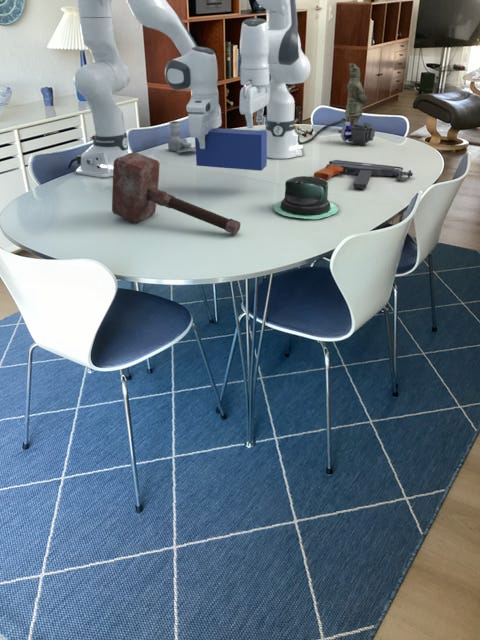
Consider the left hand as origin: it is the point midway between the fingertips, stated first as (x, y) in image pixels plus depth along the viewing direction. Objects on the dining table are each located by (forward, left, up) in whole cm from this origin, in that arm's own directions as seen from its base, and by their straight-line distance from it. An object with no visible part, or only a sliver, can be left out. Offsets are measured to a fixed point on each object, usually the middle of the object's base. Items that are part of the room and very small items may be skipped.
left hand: (207, 145), depth 187 cm
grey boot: (-31, +46, -15) cm, 57 cm away
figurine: (+4, +92, -15) cm, 93 cm away
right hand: (+17, 0, +8) cm, 19 cm away
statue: (+34, +104, -15) cm, 111 cm away
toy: (+39, +78, -15) cm, 88 cm away
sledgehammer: (+4, -36, -15) cm, 40 cm away
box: (+9, 0, -6) cm, 11 cm away
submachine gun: (+49, +24, -15) cm, 57 cm away
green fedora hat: (+37, -12, -15) cm, 42 cm away
